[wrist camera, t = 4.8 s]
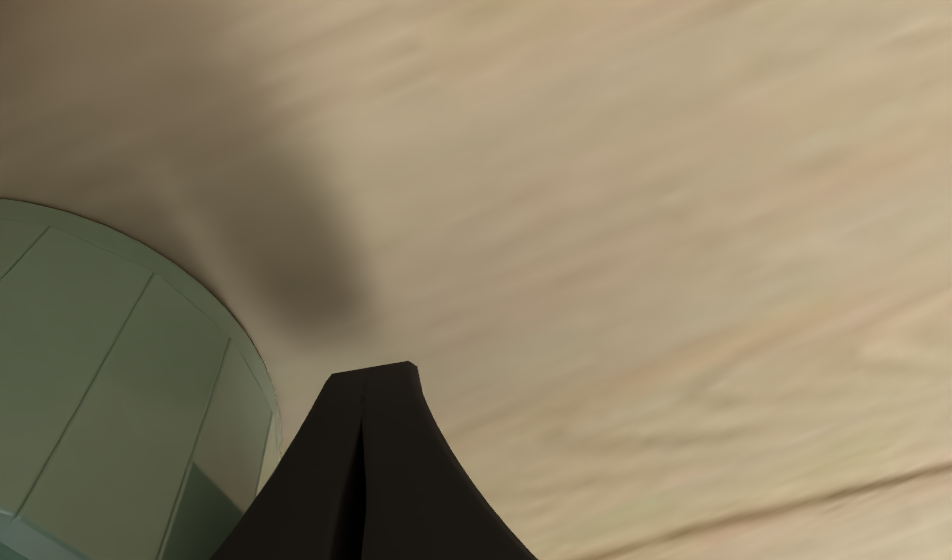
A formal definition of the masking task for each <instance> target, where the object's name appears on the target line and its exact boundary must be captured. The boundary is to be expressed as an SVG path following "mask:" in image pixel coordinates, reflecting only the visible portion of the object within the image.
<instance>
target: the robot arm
mask: <svg viewBox="0 0 952 560" xmlns="http://www.w3.org/2000/svg"><path fill="white" fill-rule="evenodd" d="M209 560H538V559H537V558H536V557H535V556H534V555H533V554H532V553H531V552H530V551H529V550H528V549H527V548H526V547H525V546H524V544H523V543H522V542H521V541H520V540H519V539H518V538H517V537H516V536H515V535H514V534H513V532H512V531H511V530H510V529H509V528H508V527H507V525H506V524H505V523H504V522H503V521H502V520H501V518H500V517H499V516H498V515H497V514H496V512H495V511H494V510H493V509H492V507H491V506H490V505H489V504H488V502H487V501H486V500H485V498H484V497H483V496H482V494H481V493H480V492H479V490H478V489H477V488H476V486H475V485H474V484H473V482H472V481H471V479H470V478H469V476H468V475H467V473H466V472H465V471H464V469H463V468H462V466H461V465H460V463H459V462H458V460H457V458H456V457H455V455H454V454H453V452H452V450H451V449H450V447H449V445H448V443H447V442H446V440H445V438H444V436H443V435H442V433H441V431H440V429H439V428H438V426H437V424H436V422H435V420H434V418H433V416H432V414H431V412H430V410H429V407H428V405H427V403H426V400H425V398H424V395H423V392H422V387H421V383H420V378H419V373H418V368H417V366H415V365H414V364H412V363H411V362H409V361H405V362H399V363H393V364H387V365H381V366H375V367H369V368H364V369H358V370H352V371H346V372H340V373H334V374H332V375H331V376H330V377H329V378H328V380H327V381H326V382H325V384H324V386H323V388H322V390H321V392H320V394H319V396H318V397H317V399H316V401H315V403H314V405H313V407H312V408H311V410H310V412H309V414H308V416H307V417H306V419H305V421H304V423H303V424H302V426H301V428H300V429H299V431H298V433H297V435H296V436H295V438H294V440H293V441H292V443H291V444H290V446H289V448H288V449H287V451H286V452H285V454H284V456H283V457H282V459H281V460H280V462H279V464H278V465H277V467H276V468H275V470H274V472H273V473H272V475H271V476H270V478H269V479H268V481H267V482H266V484H265V485H264V487H263V488H262V489H261V491H260V492H259V494H258V495H257V496H256V498H255V499H254V501H253V502H252V504H251V505H250V506H249V508H248V509H247V511H246V512H245V513H244V515H243V516H242V518H241V519H240V520H239V522H238V523H237V525H236V526H235V527H234V529H233V530H232V531H231V532H230V534H229V535H228V536H227V538H226V539H225V540H224V541H223V543H222V544H221V545H220V547H219V548H218V549H217V550H216V551H215V553H214V554H213V555H212V556H211V558H210V559H209Z"/></svg>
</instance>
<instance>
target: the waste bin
mask: <svg viewBox="0 0 952 560" xmlns="http://www.w3.org/2000/svg"><path fill="white" fill-rule="evenodd" d="M281 443H282V435H281V421H280V412H279V408H278V404H277V399H276V395H275V391H274V387H273V385H272V383H271V380H270V378H269V375H268V373H267V370H266V368H265V365H264V363H263V361H262V359H261V358H260V356H259V354H258V352H257V351H256V349H255V347H254V346H253V344H252V342H251V341H250V339H249V337H248V336H247V334H246V333H245V332H244V330H243V329H242V328H241V326H240V325H239V324H238V323H237V321H236V320H235V319H234V318H233V316H232V315H231V314H230V312H229V311H228V310H227V309H226V308H225V307H224V306H223V305H222V304H221V303H220V302H219V301H218V300H217V299H216V298H215V297H214V296H213V295H212V294H211V293H210V292H209V291H208V290H207V289H206V288H205V287H204V286H203V285H202V284H200V283H199V282H198V281H197V280H195V279H194V278H193V277H191V276H190V275H189V274H188V273H186V272H185V271H184V270H182V269H181V268H180V267H179V266H177V265H176V264H175V263H174V262H172V261H170V260H169V259H167V258H165V257H164V256H162V255H160V254H159V253H157V252H156V251H154V250H152V249H151V248H149V247H147V246H146V245H144V244H143V243H141V242H139V241H137V240H135V239H133V238H130V237H128V236H126V235H124V234H122V233H120V232H118V231H116V230H114V229H112V228H109V227H107V226H105V225H103V224H100V223H97V222H94V221H91V220H88V219H86V218H83V217H80V216H77V215H74V214H71V213H69V212H66V211H62V210H57V209H53V208H49V207H45V206H41V205H36V204H32V203H28V202H23V201H15V200H7V199H0V560H209V559H210V558H211V556H212V555H213V554H214V553H215V551H216V550H217V549H218V548H219V547H220V545H221V544H222V543H223V541H224V540H225V539H226V538H227V536H228V535H229V534H230V532H231V531H232V530H233V529H234V527H235V526H236V525H237V523H238V522H239V520H240V519H241V518H242V516H243V515H244V513H245V512H246V511H247V509H248V508H249V506H250V505H251V504H252V502H253V501H254V499H255V498H256V496H257V495H258V494H259V492H260V491H261V489H262V488H263V487H264V485H265V484H266V482H267V481H268V479H269V478H270V476H271V475H272V473H273V472H274V470H275V468H276V467H277V465H278V464H279V462H280V453H281Z"/></svg>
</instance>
